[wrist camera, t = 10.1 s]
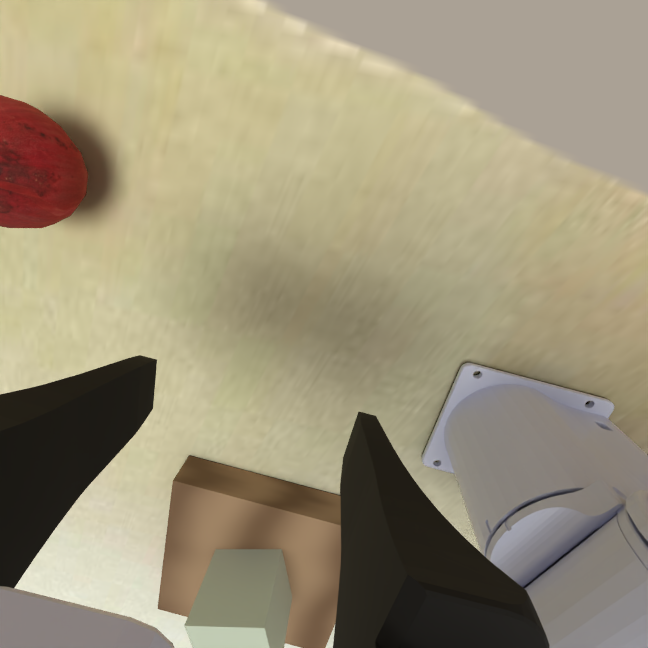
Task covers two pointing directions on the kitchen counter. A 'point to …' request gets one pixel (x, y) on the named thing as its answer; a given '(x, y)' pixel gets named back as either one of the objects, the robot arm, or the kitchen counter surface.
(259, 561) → the sage block
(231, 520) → the walnut base
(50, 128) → the onion
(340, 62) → the kitchen counter surface
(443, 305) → the kitchen counter surface
